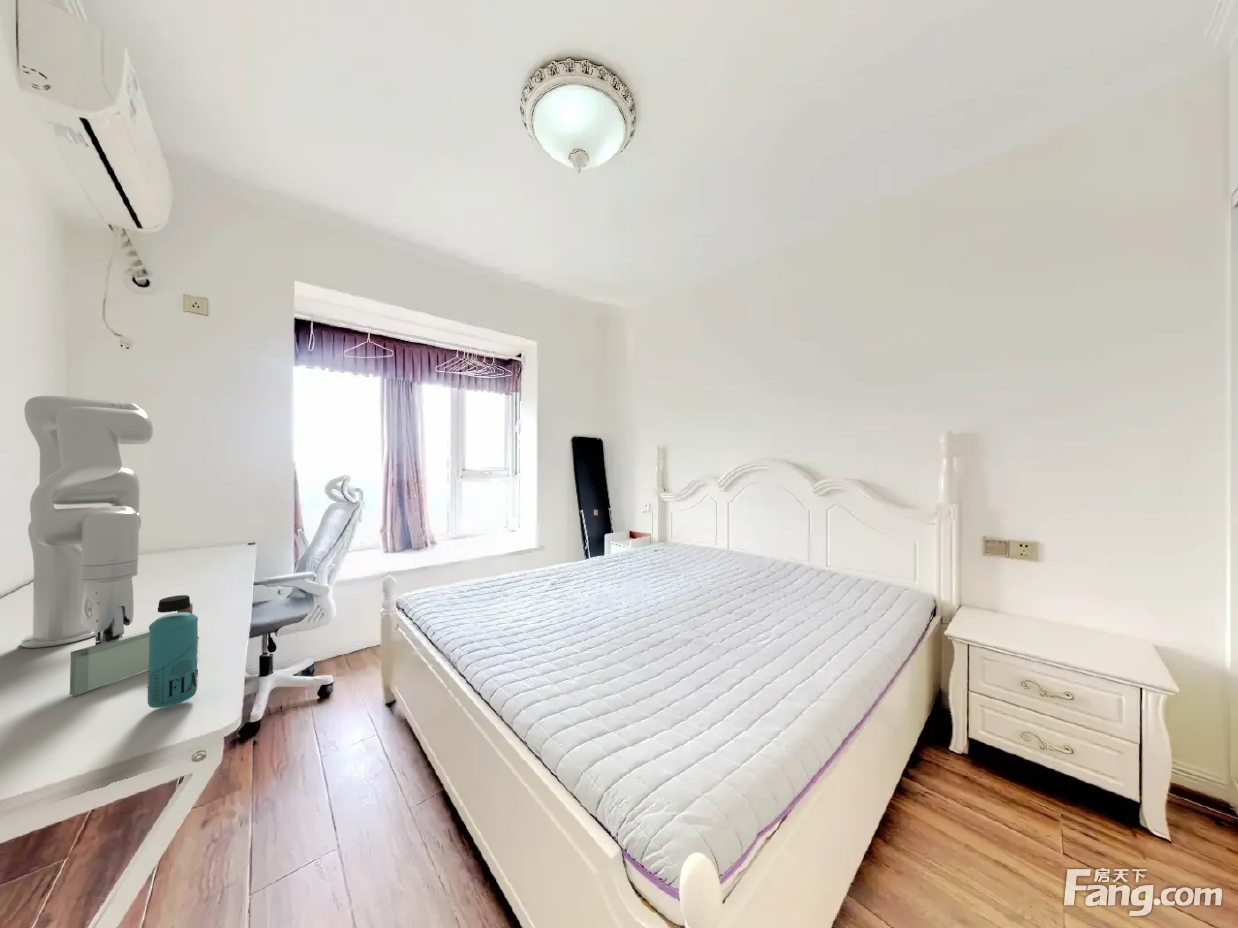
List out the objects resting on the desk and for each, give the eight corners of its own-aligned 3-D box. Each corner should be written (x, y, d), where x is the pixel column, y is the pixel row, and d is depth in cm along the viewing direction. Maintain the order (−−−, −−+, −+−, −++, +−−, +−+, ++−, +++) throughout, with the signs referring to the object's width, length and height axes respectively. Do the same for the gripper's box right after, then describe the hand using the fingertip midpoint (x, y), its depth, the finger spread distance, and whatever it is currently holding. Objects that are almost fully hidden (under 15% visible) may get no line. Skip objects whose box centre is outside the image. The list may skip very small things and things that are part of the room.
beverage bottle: (163, 719, 73) (166, 604, 73) (135, 714, 74) (137, 601, 74) (207, 699, 79) (209, 593, 79) (180, 694, 81) (182, 590, 81)
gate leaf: (167, 660, 93) (168, 624, 93) (173, 661, 93) (173, 625, 93) (69, 694, 79) (70, 651, 79) (75, 695, 79) (76, 653, 79)
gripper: (67, 570, 86) (66, 659, 86) (96, 579, 80) (94, 676, 80) (122, 562, 93) (120, 645, 93) (152, 571, 87) (150, 660, 87)
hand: (108, 659), depth 86 cm, fingers closed
